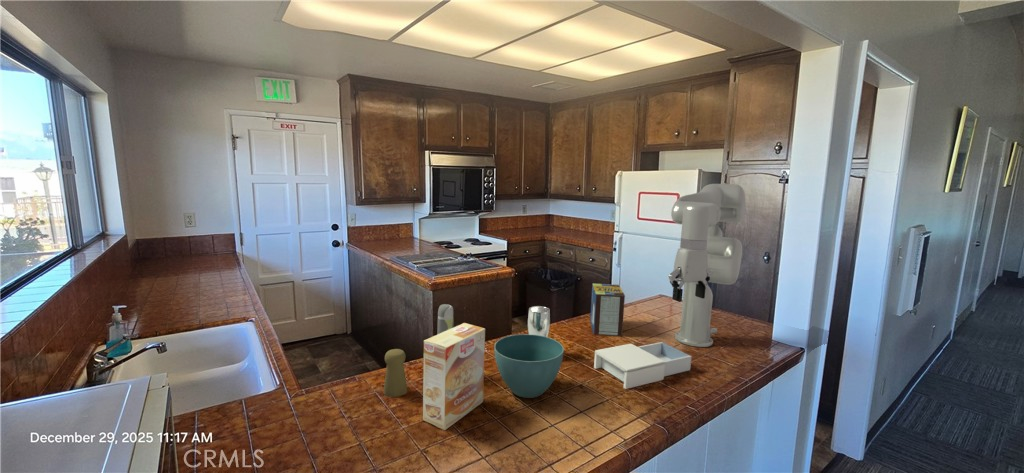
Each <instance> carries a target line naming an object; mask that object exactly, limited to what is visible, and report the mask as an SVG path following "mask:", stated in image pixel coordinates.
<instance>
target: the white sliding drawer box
mask: <svg viewBox="0 0 1024 473" xmlns="http://www.w3.org/2000/svg"><path fill="white" fill-rule="evenodd" d="M638 347H639V348H641V349H642V350H644V351H646V352H648V353H650V354H652V355H654V356H656V357H658V358H660V359H661V360H663V361H665V368H664V377H667V376H671V375H675V374H680V373H684V372H688V371H691V365H692V355H689V354H688V353H686V352H683V351H681V350H679V349H677V348H676V347H673V346H671V345H669V344H667V343H665V342H663V341H660V342H655V343H651V344H649V343H648V344H646V345H645V344H644V345H640V346H638ZM601 369H604V370H605V371H606V372H608V373H609V374H611V375H612V376H614V377H615V378H616V379H618V380H620V381H621V382H622V383H624V375H625V371H623V370H621V369H620V368H618V367H617V366H615V365H613V364H612V363H610V362H609V361H607V360H605V359H604V358H602V368H601Z"/></svg>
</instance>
